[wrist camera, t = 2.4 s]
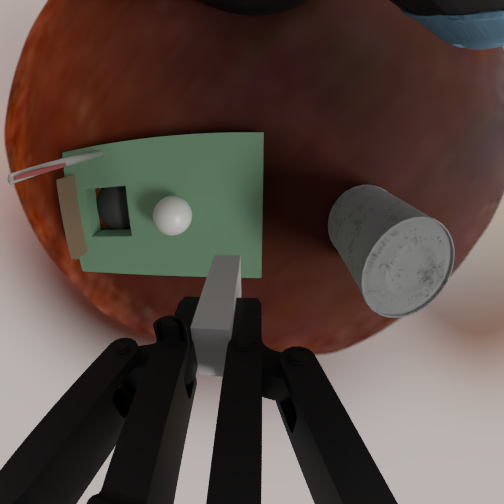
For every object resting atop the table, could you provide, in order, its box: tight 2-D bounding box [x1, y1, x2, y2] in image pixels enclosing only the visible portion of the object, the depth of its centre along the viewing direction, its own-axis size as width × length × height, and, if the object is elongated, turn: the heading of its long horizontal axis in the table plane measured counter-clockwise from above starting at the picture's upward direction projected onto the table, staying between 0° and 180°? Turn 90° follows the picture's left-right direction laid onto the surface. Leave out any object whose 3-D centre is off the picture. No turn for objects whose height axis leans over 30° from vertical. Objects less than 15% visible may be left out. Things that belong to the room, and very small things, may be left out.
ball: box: [153, 196, 192, 236], centre depth 27 cm, size 4×4×4 cm
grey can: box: [328, 185, 454, 318], centre depth 26 cm, size 10×10×12 cm
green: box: [8, 132, 264, 278], centre depth 24 cm, size 16×24×16 cm, turn 90°
